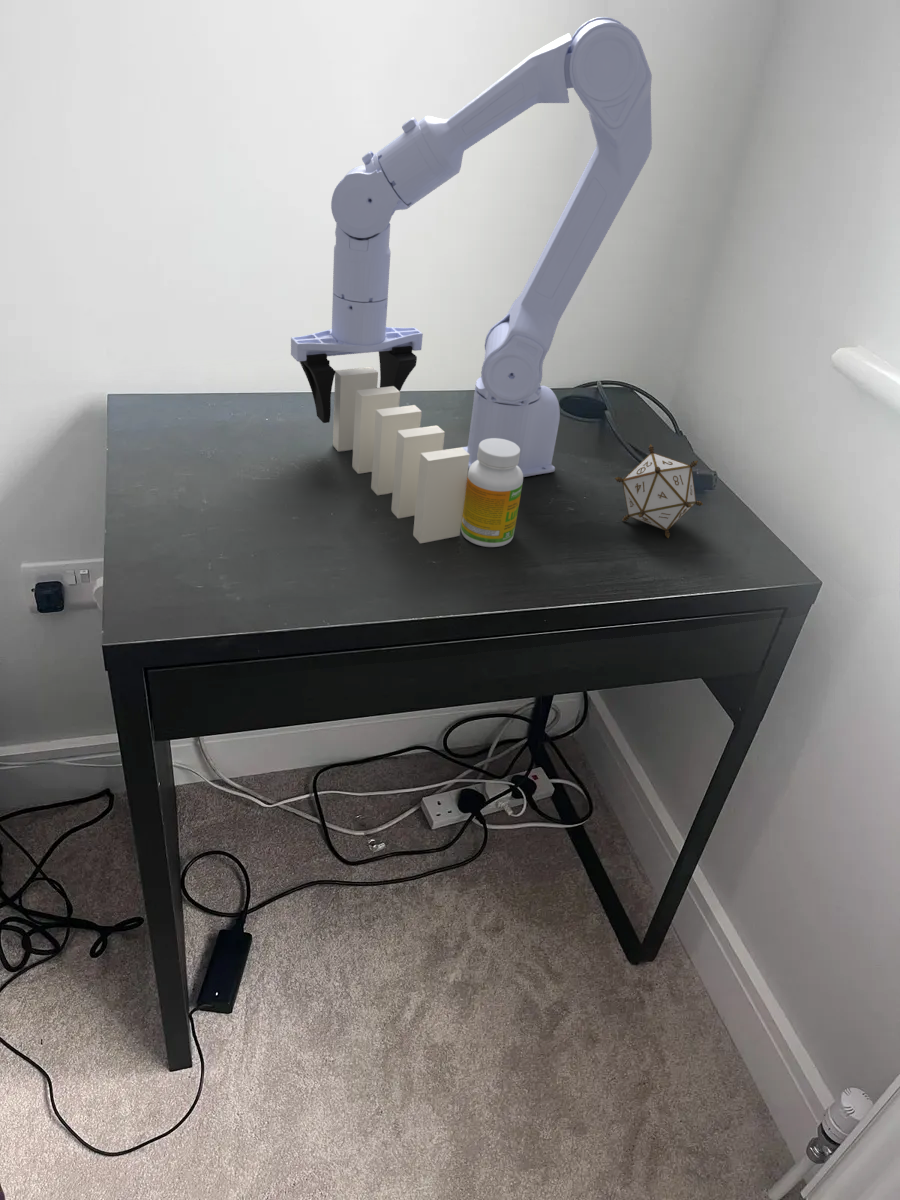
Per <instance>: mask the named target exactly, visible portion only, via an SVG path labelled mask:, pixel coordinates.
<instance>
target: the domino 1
mask: <svg viewBox="0 0 900 1200" xmlns="http://www.w3.org/2000/svg"><path fill="white" fill-rule="evenodd" d="M334 370H335V369H334ZM335 371H336V372H335V375H334V394H333V396H334V400H333V401H334V402H333V424H332V425H333V428H332V447H334V448H335V450H337V452H345V451H351V450H352V451H353V440H354V418H355V396H356V390H363V389H372V388H378V384H379V383H378V378H379V371H377V370H376V369H375V368H374V367H373V366H365V367H358V368H346V369H336V370H335Z"/></svg>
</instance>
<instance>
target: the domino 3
mask: <svg viewBox="0 0 900 1200" xmlns="http://www.w3.org/2000/svg"><path fill="white" fill-rule="evenodd" d="M422 415H423V414H422V410H421V409H420V408H419V407H418V406H417V405H416V404H412V405H411V404H410V405H404V406H399V407H394V408H386V409H378V410H376V415H375V432H374V448H373V465H372V472H371V483H370V489H371V490H372V491H373V493H375V494H376V496H380V495H382V496H383V495H388V494H393V482H394V468H395V455H396V442H397V431H399V430H406V429H413V428H421V423H422Z"/></svg>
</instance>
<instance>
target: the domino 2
mask: <svg viewBox="0 0 900 1200" xmlns="http://www.w3.org/2000/svg"><path fill="white" fill-rule="evenodd" d="M400 397H401V390H400V391H399V390H397V389H396V388H395V387H394V386H390V387H381V388H380V387H377V388H372V389H363V390H356V396H355V418H354V440H353V450H352V461H351V462H352V465H351V466H352V469H353V470H354V471H355V472H356V473H357V475H358V474H359V475H360V474H364V473H372V465H373V448H374V432H375V415H376V410H378V409H386V408H394V407H400V401H401V399H400Z"/></svg>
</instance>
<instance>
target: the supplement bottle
mask: <svg viewBox="0 0 900 1200" xmlns="http://www.w3.org/2000/svg"><path fill="white" fill-rule="evenodd" d="M519 457H520V448H519V447H518V445H516V444H515V443H513V442H511V441H508V440H505V439H499V438H490V439H485V440H483V441H481V442H480V444H479V447H478V453H477V459H478V460H476V461H475V462H473V463H472V464H471V466H470V468H468V473H467V480H466V488H465V496H464V504H463V512H462V519H461V527H460V533H461V535H462V536H463V538H465V539H466V540H467V541H469V542H470V543H472V544H474V545H476V546H481V547H484V548H485V547H486V548H498V547H503V546H505V545H508V544H509V543H511V541H512V540H513V538H514V535H515V529H516V526H517V525H516V524H517V519H518V513H519V512H518V511H519V506H520V501H521V495H522V489H523V484H524V483H523V482H524V477H523V473H522V471H521V469H520V468H519V467H518V466H517V465H518V463H519Z"/></svg>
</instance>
